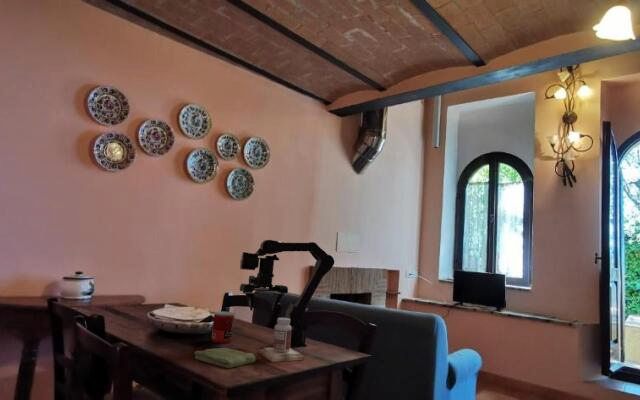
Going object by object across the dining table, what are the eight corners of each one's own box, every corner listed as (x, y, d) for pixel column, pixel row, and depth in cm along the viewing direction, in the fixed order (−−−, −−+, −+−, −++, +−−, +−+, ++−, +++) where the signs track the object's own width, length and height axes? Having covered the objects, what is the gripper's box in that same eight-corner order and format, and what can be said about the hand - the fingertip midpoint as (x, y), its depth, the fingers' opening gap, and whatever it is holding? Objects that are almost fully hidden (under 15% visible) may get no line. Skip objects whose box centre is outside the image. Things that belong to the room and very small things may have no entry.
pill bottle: (285, 348, 154) (288, 317, 155) (292, 352, 148) (295, 320, 150) (269, 348, 151) (272, 317, 152) (276, 353, 146) (279, 320, 147)
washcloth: (220, 353, 149) (221, 343, 149) (257, 364, 139) (258, 353, 139) (190, 359, 138) (191, 349, 139) (228, 371, 128) (229, 360, 129)
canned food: (227, 344, 161) (230, 315, 162) (207, 342, 162) (210, 313, 164) (234, 340, 168) (237, 312, 170) (216, 338, 170) (219, 310, 171)
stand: (289, 351, 157) (289, 346, 158) (303, 359, 147) (304, 354, 147) (259, 353, 152) (259, 347, 152) (271, 361, 141) (272, 355, 142)
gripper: (279, 270, 180) (275, 307, 178) (237, 268, 172) (233, 307, 170) (290, 272, 171) (286, 312, 169) (246, 270, 162) (242, 311, 160)
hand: (262, 310), depth 167 cm, fingers open, 9 cm apart
